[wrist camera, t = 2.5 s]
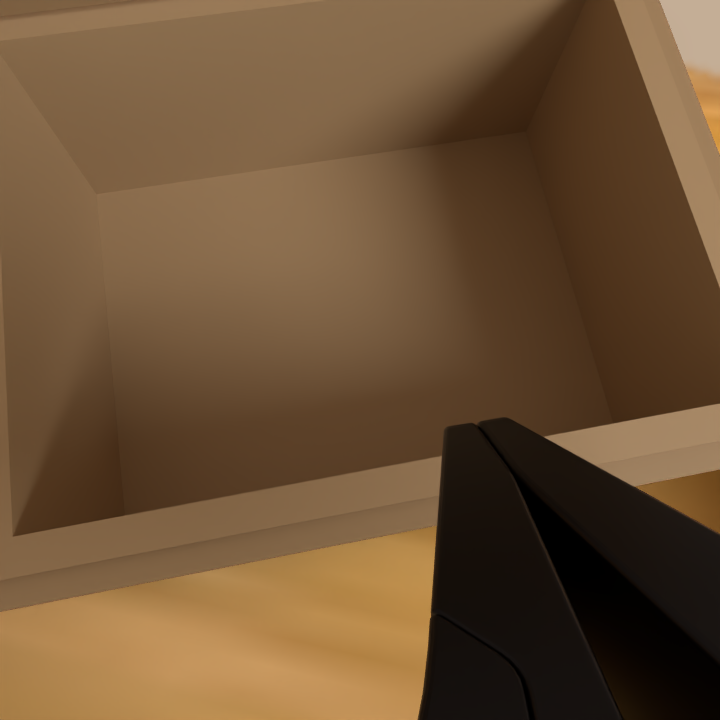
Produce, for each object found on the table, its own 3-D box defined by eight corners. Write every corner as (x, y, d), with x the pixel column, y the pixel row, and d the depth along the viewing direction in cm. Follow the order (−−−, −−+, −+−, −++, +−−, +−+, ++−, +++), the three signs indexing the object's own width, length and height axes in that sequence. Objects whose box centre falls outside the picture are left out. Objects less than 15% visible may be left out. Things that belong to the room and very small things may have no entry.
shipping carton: (663, 480, 22) (840, 445, 14) (92, 592, 20) (-58, 623, 13) (549, 118, 26) (640, -62, 18) (62, 189, 24) (-66, 23, 16)
